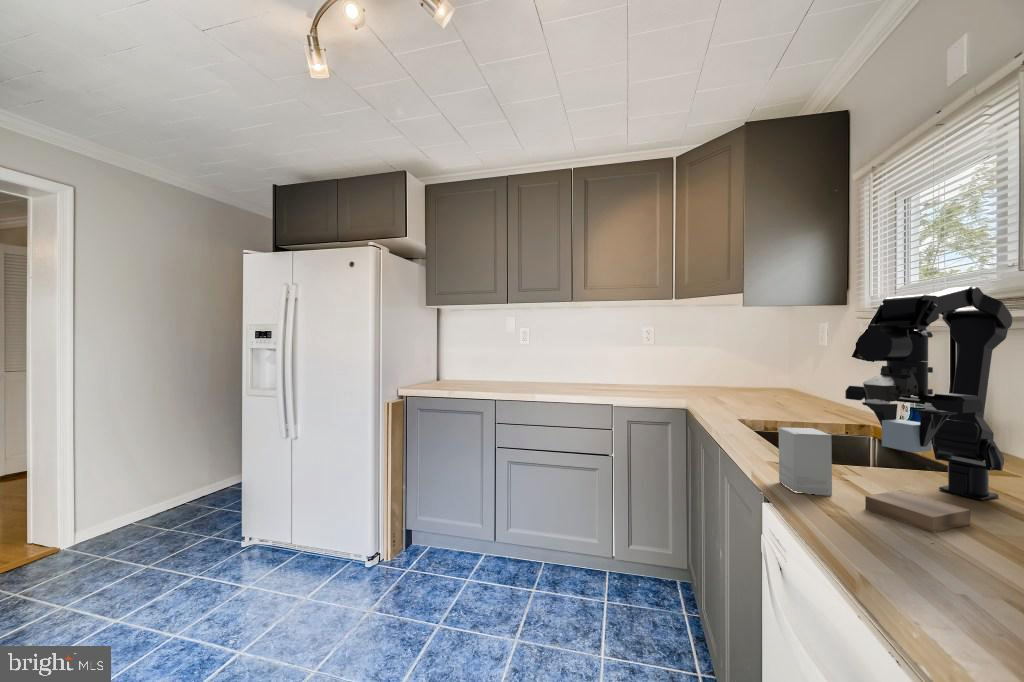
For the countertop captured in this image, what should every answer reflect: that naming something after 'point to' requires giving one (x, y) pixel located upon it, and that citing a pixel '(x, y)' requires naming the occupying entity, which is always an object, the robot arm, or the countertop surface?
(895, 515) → the walnut slab
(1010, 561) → the countertop surface
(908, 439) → the slate block
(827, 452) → the supplement box
